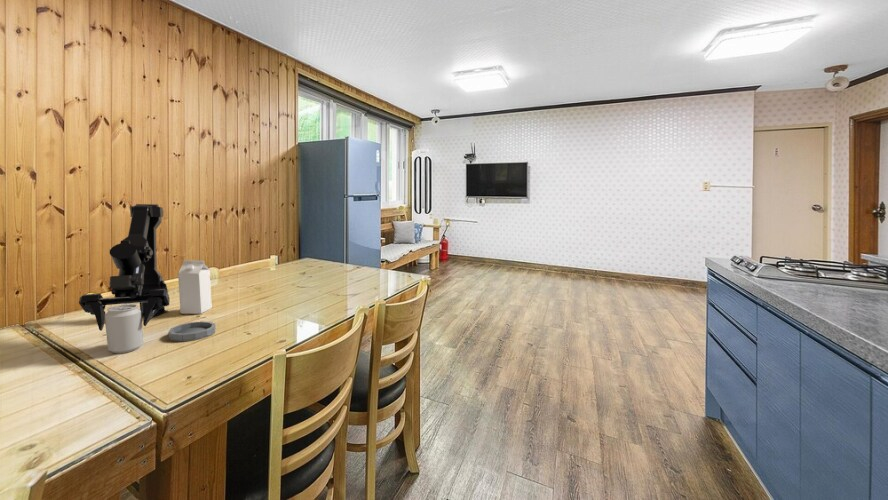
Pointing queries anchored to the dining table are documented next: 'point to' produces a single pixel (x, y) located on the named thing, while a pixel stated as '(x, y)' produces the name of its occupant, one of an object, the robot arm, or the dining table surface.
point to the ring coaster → (192, 331)
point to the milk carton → (194, 287)
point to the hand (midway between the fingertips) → (122, 327)
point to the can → (124, 328)
